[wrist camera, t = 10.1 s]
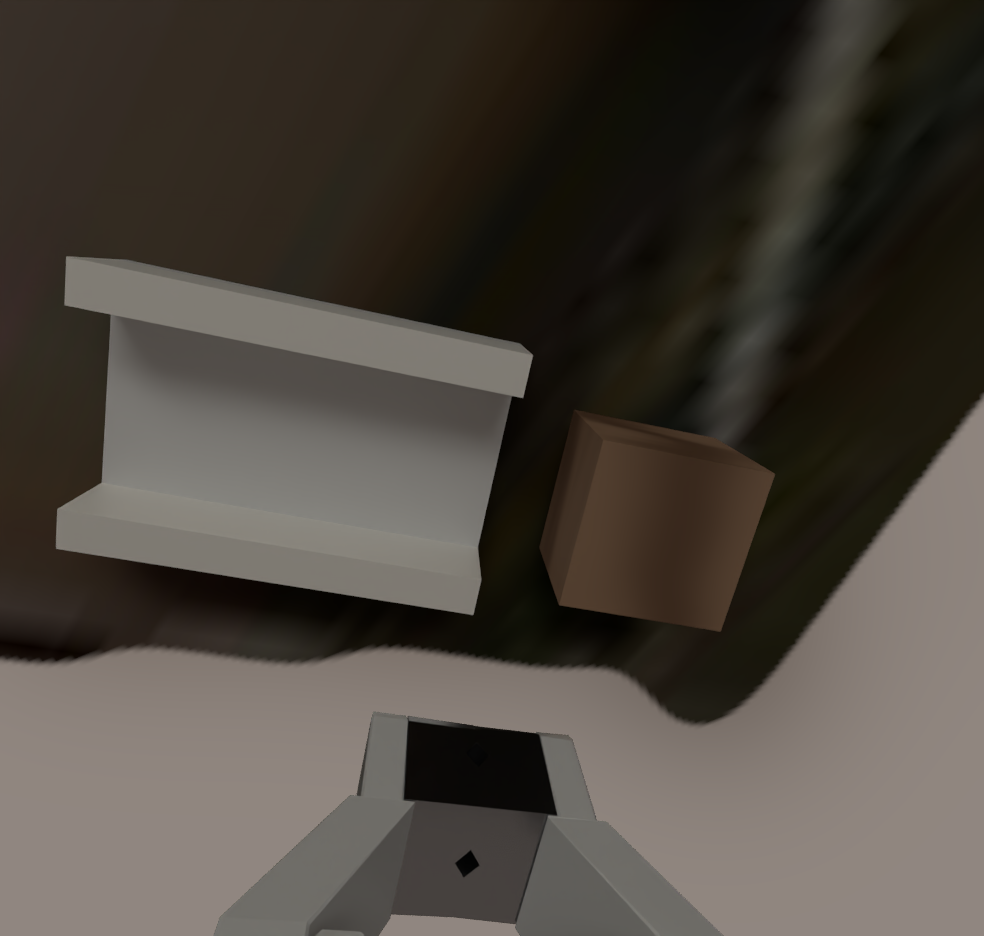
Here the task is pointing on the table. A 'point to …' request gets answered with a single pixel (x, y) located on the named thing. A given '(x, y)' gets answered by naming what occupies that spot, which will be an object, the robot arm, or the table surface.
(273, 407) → the chute
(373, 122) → the table surface
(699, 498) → the walnut block
